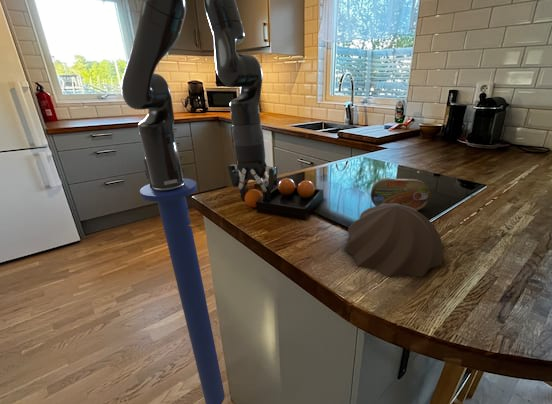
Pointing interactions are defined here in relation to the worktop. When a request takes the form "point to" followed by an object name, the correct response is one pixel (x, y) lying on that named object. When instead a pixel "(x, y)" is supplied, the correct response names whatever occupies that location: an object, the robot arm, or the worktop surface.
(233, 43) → the robot arm
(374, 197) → the tin
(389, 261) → the decorative dome
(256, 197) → the clementine
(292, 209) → the tray
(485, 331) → the worktop surface
